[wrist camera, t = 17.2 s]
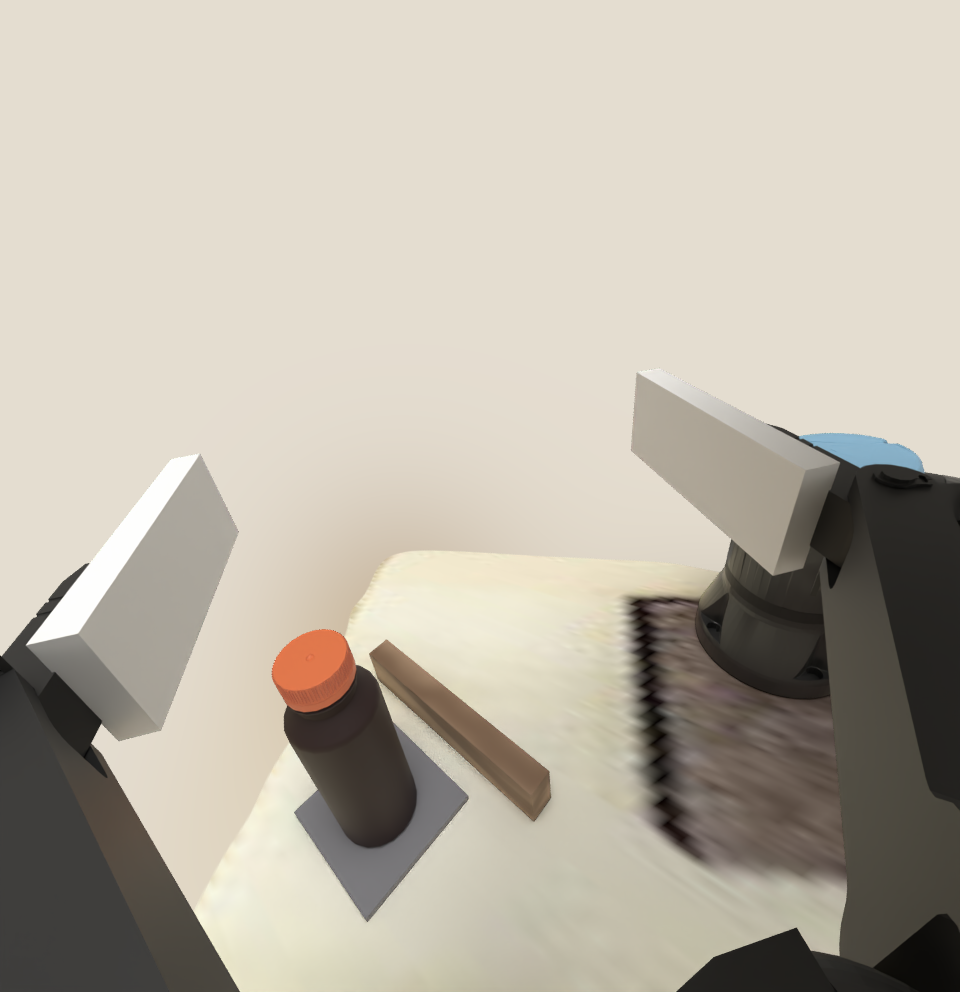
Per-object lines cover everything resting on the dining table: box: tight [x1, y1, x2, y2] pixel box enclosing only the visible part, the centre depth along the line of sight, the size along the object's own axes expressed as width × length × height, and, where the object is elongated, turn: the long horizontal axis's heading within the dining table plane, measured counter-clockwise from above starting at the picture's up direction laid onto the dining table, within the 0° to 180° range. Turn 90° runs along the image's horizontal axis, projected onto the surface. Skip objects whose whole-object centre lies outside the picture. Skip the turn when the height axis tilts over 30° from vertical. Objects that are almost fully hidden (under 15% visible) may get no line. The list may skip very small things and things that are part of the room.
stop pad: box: [294, 723, 468, 922], centre depth 41 cm, size 11×11×1 cm
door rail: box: [369, 640, 551, 821], centre depth 45 cm, size 2×22×4 cm, turn 47°
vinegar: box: [272, 629, 417, 848], centre depth 35 cm, size 7×7×20 cm
